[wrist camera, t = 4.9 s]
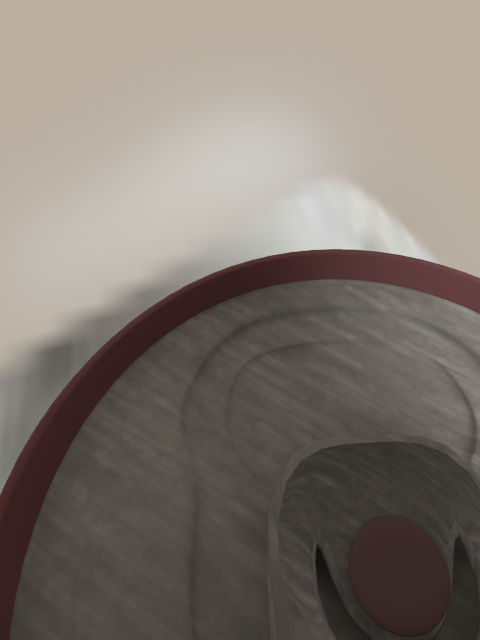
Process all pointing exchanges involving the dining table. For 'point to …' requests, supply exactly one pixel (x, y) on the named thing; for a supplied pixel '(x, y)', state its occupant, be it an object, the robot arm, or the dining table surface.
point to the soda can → (261, 464)
